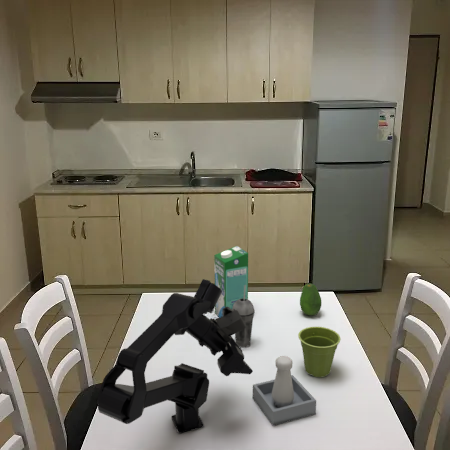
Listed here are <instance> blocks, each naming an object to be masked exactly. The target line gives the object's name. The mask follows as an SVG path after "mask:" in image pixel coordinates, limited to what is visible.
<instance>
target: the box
mask: <svg viewBox="0 0 450 450" xmlns="http://www.w3.org/2000/svg"><path fill="white" fill-rule="evenodd" d="M291 377H292V384H293V390H294V400H293V401H292V403H291V404H290V405H289V406H285V407H281V408H280V407H277V406H276V405H275V402H274V400H273V398H272V390H273V386H274V381H275V379H271V380H268V381H267V380H266V381H263V382H258V383H255V384H254V383H253V384H252V400H254V402H255V403H256V405H257V406H258V408H259V409H260V410H261V411H262V413H263V415H264V416H265V417H266V418H267V420H268V421H269V422H270V423H271V425H272V427H274V426H279V425H281V424H282V425H283V424H285V423H290V422H293V421H295V420H299V419H303V418H306V417H311V416H314V415H316V414H317V413H316V412H317V399H316V398H315V397H314V396H313V395H312V394H311V393H310V392H309V391H308V389H306V388H305V386H304V385H303V384H302V383H300V381H299V380H298V379H297V378H296V377H295V376H294V374H293V375H292V374H291Z"/></svg>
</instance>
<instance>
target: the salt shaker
mask: <svg viewBox="0 0 450 450" xmlns="http://www.w3.org/2000/svg"><path fill="white" fill-rule="evenodd" d="M293 364H294V363H293V360H292V359H291V357H289V356H287V355H279V356H278V357H277V358H276V359H275V368H276V373H275V377H274V380H275V381H274V386H273V390H272V398H273V400H274V402H275V405H276V406H277V407H280V408H281V407H285V406H289V405H290V404H291V403H292V401H293V400H294V390H293V384H292V377H291V375H292V372H291V370H292V369H293Z"/></svg>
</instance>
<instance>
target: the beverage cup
mask: <svg viewBox="0 0 450 450" xmlns="http://www.w3.org/2000/svg"><path fill="white" fill-rule="evenodd" d="M245 290H246V285H244V298H242V299H239V300H237V301H236V302H235V303H234V305H233V308H232V310H233V309H235V310H237V311H238V312H239V314H240V316H241V318H242V320H243V321H244V323H245V325H246V328H245V329H244V330H242V331H239V332H237V333H235V334H234V340H235V342H236V343H237V344H238V346H239V347H240V348H247V347H249V346H250V345H251V340H252V332H253V331H252V330H253V320H254V317H255V307H254V304H253V303H252V302H251V300H249V298H248V299H245ZM233 311H234V310H233Z"/></svg>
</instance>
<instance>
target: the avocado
mask: <svg viewBox="0 0 450 450" xmlns="http://www.w3.org/2000/svg"><path fill="white" fill-rule="evenodd" d="M299 298H300V299H299V307H300V309H301V312H302V313H303V314H305V315H306V316H315V315H317V314H318V313H319V312H320V311H321V309H322V297H321V294H320V292H319V289H318V288H317V286H316V285H315V284H313V283H307V284H305V285H304V286H303V288H302V290H301V293H300V297H299Z"/></svg>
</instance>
